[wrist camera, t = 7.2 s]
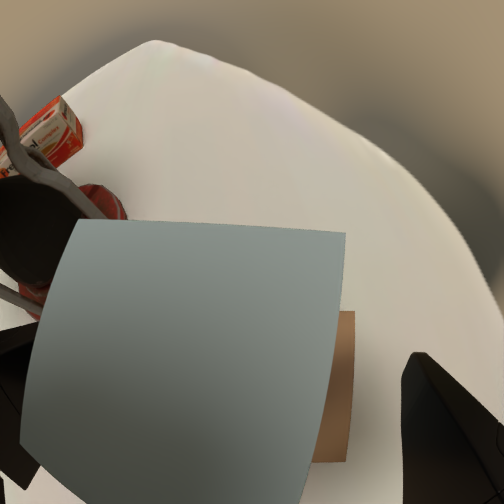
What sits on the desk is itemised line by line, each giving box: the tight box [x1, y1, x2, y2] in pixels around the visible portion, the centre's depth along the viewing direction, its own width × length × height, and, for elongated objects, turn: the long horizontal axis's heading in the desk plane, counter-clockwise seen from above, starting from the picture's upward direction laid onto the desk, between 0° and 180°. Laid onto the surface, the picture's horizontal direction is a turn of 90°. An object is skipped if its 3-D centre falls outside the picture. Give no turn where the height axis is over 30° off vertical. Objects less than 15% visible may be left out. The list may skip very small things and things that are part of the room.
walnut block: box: [311, 311, 355, 463], centre depth 16 cm, size 9×9×4 cm
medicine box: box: [0, 95, 83, 178], centre depth 32 cm, size 15×8×8 cm, turn 120°
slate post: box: [20, 219, 346, 504], centre depth 9 cm, size 5×5×12 cm
